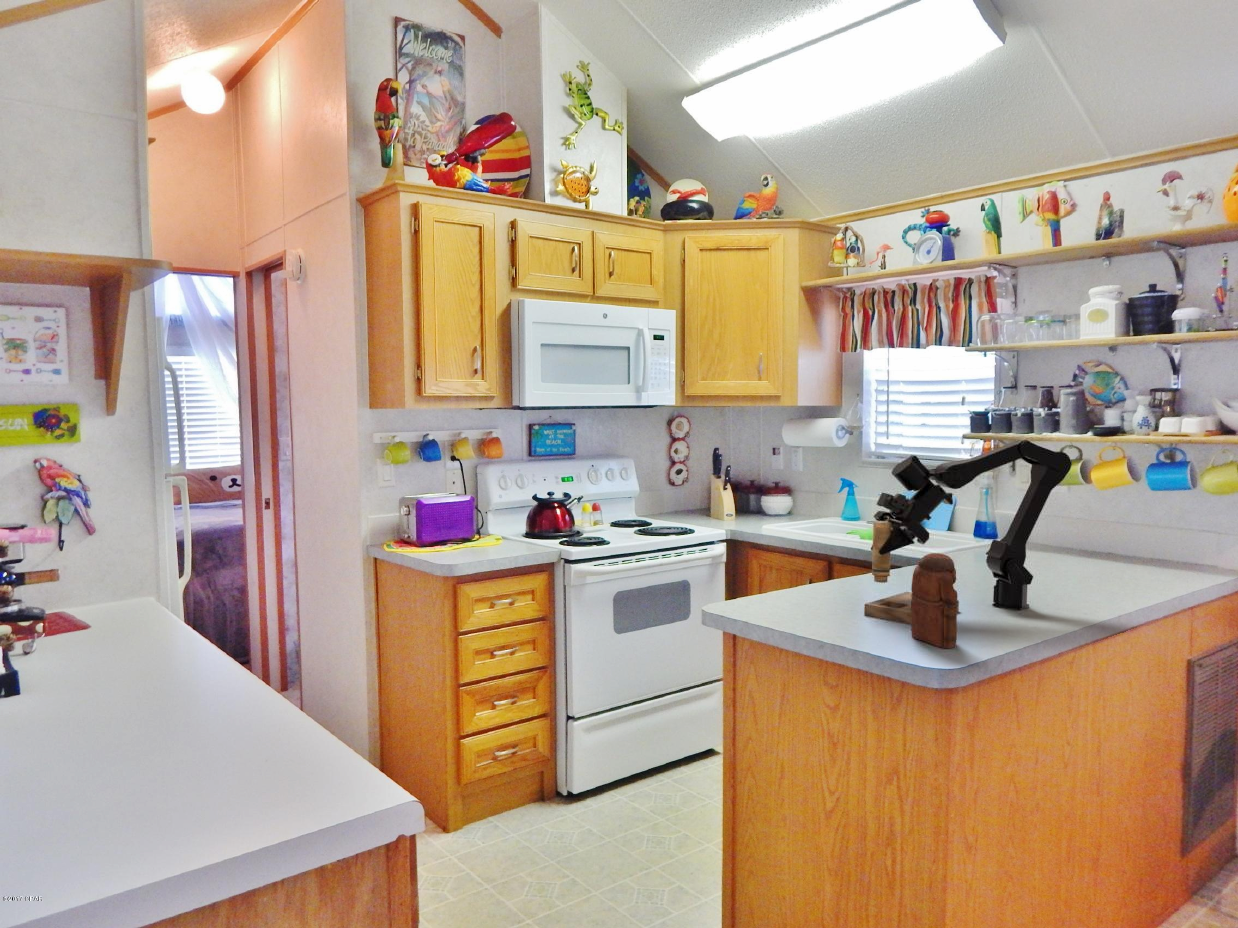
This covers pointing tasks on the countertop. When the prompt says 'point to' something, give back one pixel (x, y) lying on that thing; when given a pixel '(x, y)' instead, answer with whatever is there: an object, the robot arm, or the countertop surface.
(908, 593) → the walnut board
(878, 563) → the oak peg
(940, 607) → the wooden figurine
